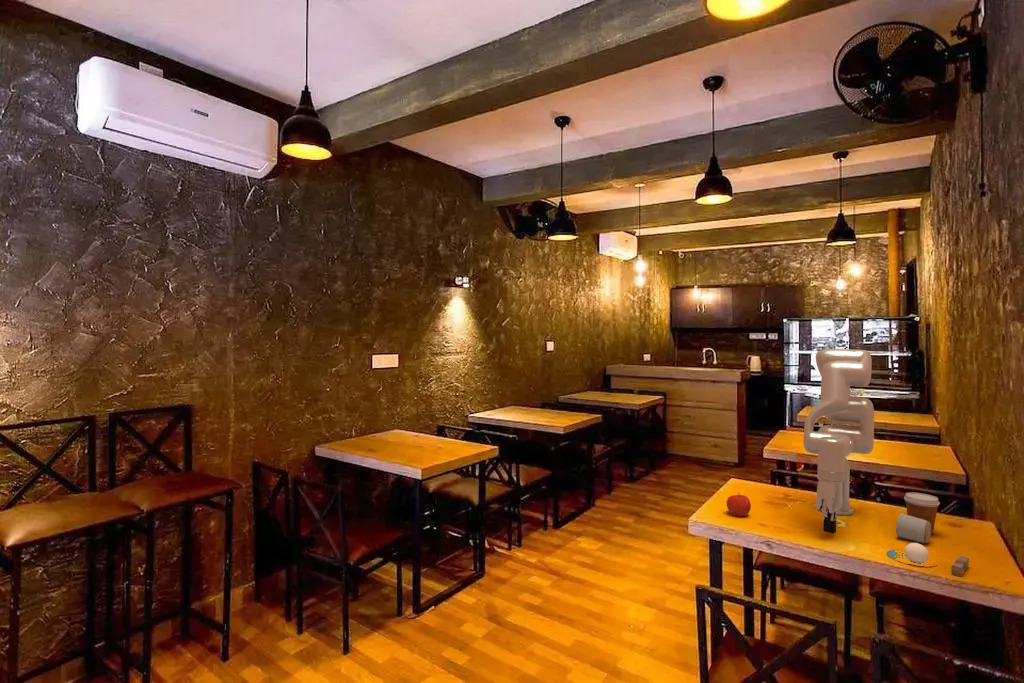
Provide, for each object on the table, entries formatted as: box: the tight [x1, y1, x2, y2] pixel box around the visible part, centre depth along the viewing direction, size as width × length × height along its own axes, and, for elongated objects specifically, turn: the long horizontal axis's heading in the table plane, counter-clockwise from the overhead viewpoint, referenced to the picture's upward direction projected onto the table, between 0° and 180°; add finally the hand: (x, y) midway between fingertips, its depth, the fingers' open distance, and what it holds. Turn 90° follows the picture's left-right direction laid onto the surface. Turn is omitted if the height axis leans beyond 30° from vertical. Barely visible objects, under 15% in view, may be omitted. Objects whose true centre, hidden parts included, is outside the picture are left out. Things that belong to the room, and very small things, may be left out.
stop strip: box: [950, 555, 970, 577], centre depth 151 cm, size 10×2×2 cm, turn 130°
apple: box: [726, 492, 752, 517], centre depth 196 cm, size 8×8×8 cm
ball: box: [903, 542, 930, 564], centre depth 156 cm, size 6×6×6 cm
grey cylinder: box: [895, 512, 932, 544], centre depth 174 cm, size 11×8×8 cm
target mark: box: [886, 549, 906, 560], centre depth 159 cm, size 12×12×1 cm
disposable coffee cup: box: [903, 492, 941, 536], centre depth 180 cm, size 10×10×12 cm
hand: (829, 531), depth 176 cm, fingers closed
